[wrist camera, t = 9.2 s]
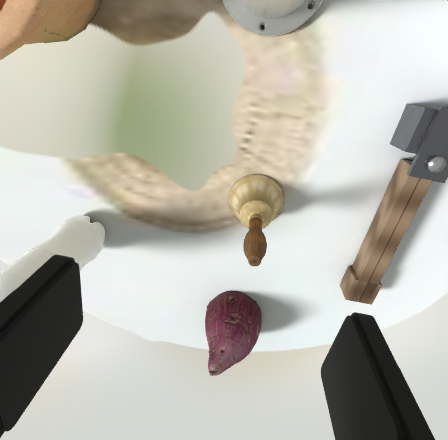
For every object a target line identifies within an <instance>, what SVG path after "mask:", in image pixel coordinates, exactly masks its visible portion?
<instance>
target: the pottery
mask: <svg viewBox="0 0 448 440" xmlns="http://www.w3.org/2000/svg"><path fill="white" fill-rule="evenodd" d="M99 5H100V0H0V60H1V59H3V58H4V57H6V56H7V55H9V54H10V53H12V52H14V51H15V50H16V49H18V48H20V47H21V46H23V45H24V44H32V43H42V42H43V43H49V42H59V41H67V40H69V39H70V38H72V37H73V36H75V35H77V34H78V33H80V32H82V31H83V30H85V29H86V27H87V26H88V24H89V23H90V21H91V20H92V18H93V16H94V15H95V13H96V12H97V10H98V9H99Z"/></svg>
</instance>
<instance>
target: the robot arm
mask: <svg viewBox="0 0 448 440" xmlns="http://www.w3.org/2000/svg"><path fill="white" fill-rule="evenodd" d="M222 2H223V4H224V6H225V8H226V10H227V11H228V13H229V14H230V16H231V17H232V18H233V19H234V21H235V22H236V23H237V24H239V25H240V26H241V27H242V28H244V29H245V30H247V31H249V32H251V33H253V34H257V35H261V36H278V35H283V34H286V33H288V32H291V31H293V30H295V29H296V28H298V27H299V26H301V25H302V24H304V23H305V22H306V21H307V20H308V19H309V18H310V17H311V16H312V15H313V14H314V13H315V12H316V11H317V9H318V8H319V6H320V5H321V3H322V2H323V0H222ZM309 4H311V5H312V9H308V5H309ZM261 25H264V27H265V29H264V30H261V29H260V26H261ZM82 322H83V311H82V297H81V284H80V270H79V264H78V263H76V262H75V259H74V258H72V257H68V256H62V255H57V254H56V255H53V256H52V257H51V258H50V259H49V260H48V261H46V262H45V263H44V264H43V265H42V266H41V267H40V268H39V269H38V270H37V271H35V272H34V273H33V274H32V275H31V276H30V277H29V278H28V279H27V280H26V281H24V282H23V283H22V284H21V285H20V286H19V287H18V288H17V289H16V290H14V291H13V292H11V293H10V294H9V295H8V296H7V297H6V298H5V299H3V300H2V301H1V302H0V437H1V436H2V434H3V433H4V432H5V431H9V430H11V429H12V428H13V427H14V425H15V424H16V423H17V421H18V420H19V418H20V417H21V415H22V414H23V412H24V411H25V409H26V408H27V406H28V405H29V404H30V402H31V401H32V399H33V398H34V396H35V395H36V393H37V392H38V390H39V389H40V387H41V386H42V384H43V383H44V381H45V380H46V378H47V377H48V375H49V374H50V372H51V371H52V369H53V368H54V366H55V365H56V364H57V362H58V361H59V359H60V358H61V356H62V354H63V353H64V352H65V350H66V349H67V347H68V346H69V344H70V343H71V341H72V340H73V339H74V337H75V335H76V334H77V332H78V331H79V330H80V328H81V325H82ZM321 378H322V382H323V386H324V391H325V395H326V400H327V404H328V409H329V413H330V418H331V422H332V427H333V431H334V436H335V440H435V439H434V437H433V435H432V433H431V430H430V429H429V426H428V424H427V422H426V421H425V418H424V416H423V414H422V412H421V410H420V409H419V406H418V404H417V402H416V400H415V398H414V396H413V394H412V392H411V390H410V388H409V386H408V384H407V382H406V380H405V378H404V376H403V374H402V372H401V370H400V368H399V367H398V365H397V363H396V361H395V359H394V357H393V355H392V353H391V351H390V349H389V347H388V345H387V343H386V341H385V339H384V337H383V335H382V333H381V331H380V329H379V327H378V325H377V323H376V321H375V319H374V317H373V316H371V315H366V314H361V313H353V314H352V315H351V316H347V317H346V318H345V320H344V322H343V324H342V326H341V328H340V330H339V332H338V334H337V336H336V338H335V340H334V342H333V345H332V346H331V348H330V350H329V353H328V354H327V356H326V358H325V360H324V363H323V364H322V367H321Z"/></svg>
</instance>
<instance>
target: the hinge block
mask: <svg viewBox="0 0 448 440" xmlns="http://www.w3.org/2000/svg"><path fill="white" fill-rule="evenodd" d="M390 144H391V145H393V146H395V147H397V148H399V149H401V150H403V151H405V152H410V153H415V154H416V155H415V157H414V160H413V162H412V164H411V166H410V168H409V170H408V172H407V174H406V175H408V176H411V177H416V178H422V179H427V180H432V181H437V182H442V183H445V181H446V179H447V177H448V107H442V106H439V107H438V110H437V109H431V108H426V107H421V106H416V105H411V104H407V105H406V107H405V110H404V112H403V114H402V117H401V119H400V121H399V124H398V126H397V128H396V131H395V133H394V135H393V138H392V140H391V142H390Z"/></svg>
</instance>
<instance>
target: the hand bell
mask: <svg viewBox="0 0 448 440" xmlns="http://www.w3.org/2000/svg"><path fill="white" fill-rule="evenodd" d="M228 203H229V207H230V210H231V212H232V213H233V215H234V216H235V217H236V218H237V219H238V220H240V221H241V222H242V223H243V225H244V226H246V227H247V228H249V232H248V233H247V234H246V237H245V239H244V253H245V255H246V257H247V259H248V262H249V264H250V265H251V266H258V265H260V263H261V260H262V259H263V257H264V255H265V253H266V248H267V243H266V238H265V236H264V234H263V232H262V229H263V228H265V227H266V226H268V225H269V223H270V222H271V221H272V220H274V219H275V218H276V217H277V216H278V215H279V213H280V212H281V210H282V207H283V204H284V196H283V192H282V189H281V188H280V186H279V185H278V183H277V182H276V181H274V180H273V179H271V178H270V177H267V176H265V175H259V174H254V175H248V176H245V177H243V178H241V179H240V180H238V181H237V182H236V183H235V184H234V185H233V187H232V188H231V190H230V193H229V197H228Z"/></svg>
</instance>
